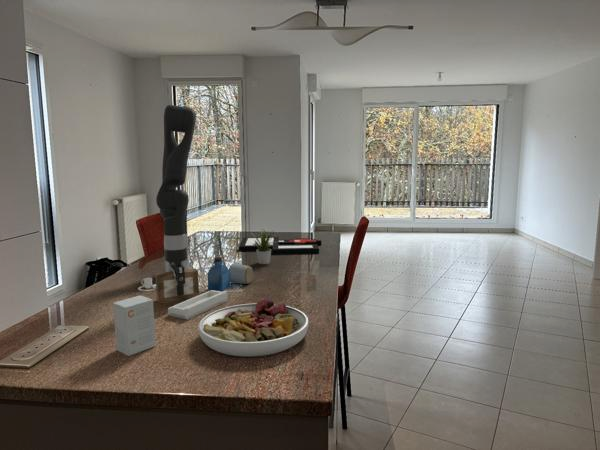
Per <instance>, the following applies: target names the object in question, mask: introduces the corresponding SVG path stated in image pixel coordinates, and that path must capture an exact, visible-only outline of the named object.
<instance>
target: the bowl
mask: <svg viewBox="0 0 600 450" xmlns="http://www.w3.org/2000/svg"><path fill="white" fill-rule="evenodd" d="M308 328H309V318H308V316H307V315H306V314H305V313H304V311H302V310H300V309H298V308H295V307H291V306H288V305H286V304H285V303H284V302H282V301H281V302H280V301H279V302H276V303H274V300H273V299H271V298H270V297H267V296H264V297H261V298H260V299H259V300H258V301H257V302H255V303H254V302H253V303H244V304H243V303H242V304H236V305H230V306H226V307H224V308H223V307H222V308H220V309H217V310H214V311H212V312H209V314H207V315H205V316H204V317H203V318H202V319H201V320H200V321H199V323H198V332H199V333H198V334H199V336H200V338H201V340H202V342H203V343H204V344H205V345H206V346H208V348H210V349H212V350H214V351H216V352H217V353H221V354H224V355H228V356H235V357H248V358H249V357H263V356H269V355H274V354H278V353H281V352H284V351H286V350H289V349H291V348H293V347H295V346H296V345H298V343H301V341H302V340H303V339H304V338H305V336H306V334H307V332H308Z"/></svg>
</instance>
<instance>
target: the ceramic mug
mask: <svg viewBox="0 0 600 450" xmlns="http://www.w3.org/2000/svg"><path fill="white" fill-rule="evenodd" d="M228 269H229V271H230V284H231V283H233V284H243V285H248V284H250V283H252V281H253V278H254V270H253V268H252V266H249V265H246V264H241V263H231V265H229V268H228Z"/></svg>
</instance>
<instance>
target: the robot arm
mask: <svg viewBox="0 0 600 450" xmlns="http://www.w3.org/2000/svg"><path fill="white" fill-rule="evenodd" d="M196 117H197V115H196V109H194V108H192V107H188V106H183V105H182V106H181V105H174V104H173V105H172V104H168V105H167V106H166V107H165V109H164V113H163V140H164V141H163V143H164V144H163V153H162V155H163V156H162V170H161V171H162V172H161V173H162V175H161V177H162V179H161V181H162V183H161V186H160V187H159V189H158V192H157V194H156V205H157V207H158V208H159V214H160V216H161V218H162V219H163V235H164V237H163V248H164V249H163V250H164V266H165V272H170V271H172V272H173V277H174V279H175V280H176V285H177V295H178V296H180V295H184V285H183V284H185V271H184V270H186V269H190V258H189V257H190V256H189V239H188V238H189V237H188V205H189V202H190V201H189V200H190V199H189V198H190V197H189V195H188V193H187V192H186V190H184V189H177V188H178V187H180V186H183V185H184V184H185V182H186V178H187V169H188V159H189V155H190V151H191V147H192V141H193V138H194V134H195V127H196V123H197V122H196V121H197V120H196ZM174 132H175V133H184V135H183V137H182V139H181V141H180V142H179V143H178V142H177V140H176V139H177V138H176V136H175V133H174ZM179 279H181V280H182V281H179Z"/></svg>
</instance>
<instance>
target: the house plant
mask: <svg viewBox="0 0 600 450" xmlns="http://www.w3.org/2000/svg"><path fill="white" fill-rule="evenodd" d="M260 231H261V232H260V237H261V243H260V242H259V240H258V238H257V237H258V236H256V235H255V234H253V233H252V232H250V234H251V235H252V236H253V237H255V238H256V239H257V241H258V242H259V244H260V245H259V244H258V243H257V242H256V241H255V240H254V241H255V244H253V245H255V246H257V247H258V246H259V247H258V249H257V250H256V251H255V252H256V256H257V262H258V264H259V265H269V264H270V263H271V255H272V254H271V253H272V251H271V249H267V247H268V245H269V246H270V245H272V244H270V243H274V242H270V243H269V242H268V241H269V240H271V239H272V238H273V237H275V234H277V233H279V232H278V231H277V232H274V230H273V231H271V232H269V233H268V235H266V234H267V233H266V231H265V229H263V231H262V229H260ZM266 237H267V238H266ZM269 237H272V238H271V239H270V238H269ZM275 242H277V241H275ZM268 243H269V244H268ZM256 244H257V245H256Z"/></svg>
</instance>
